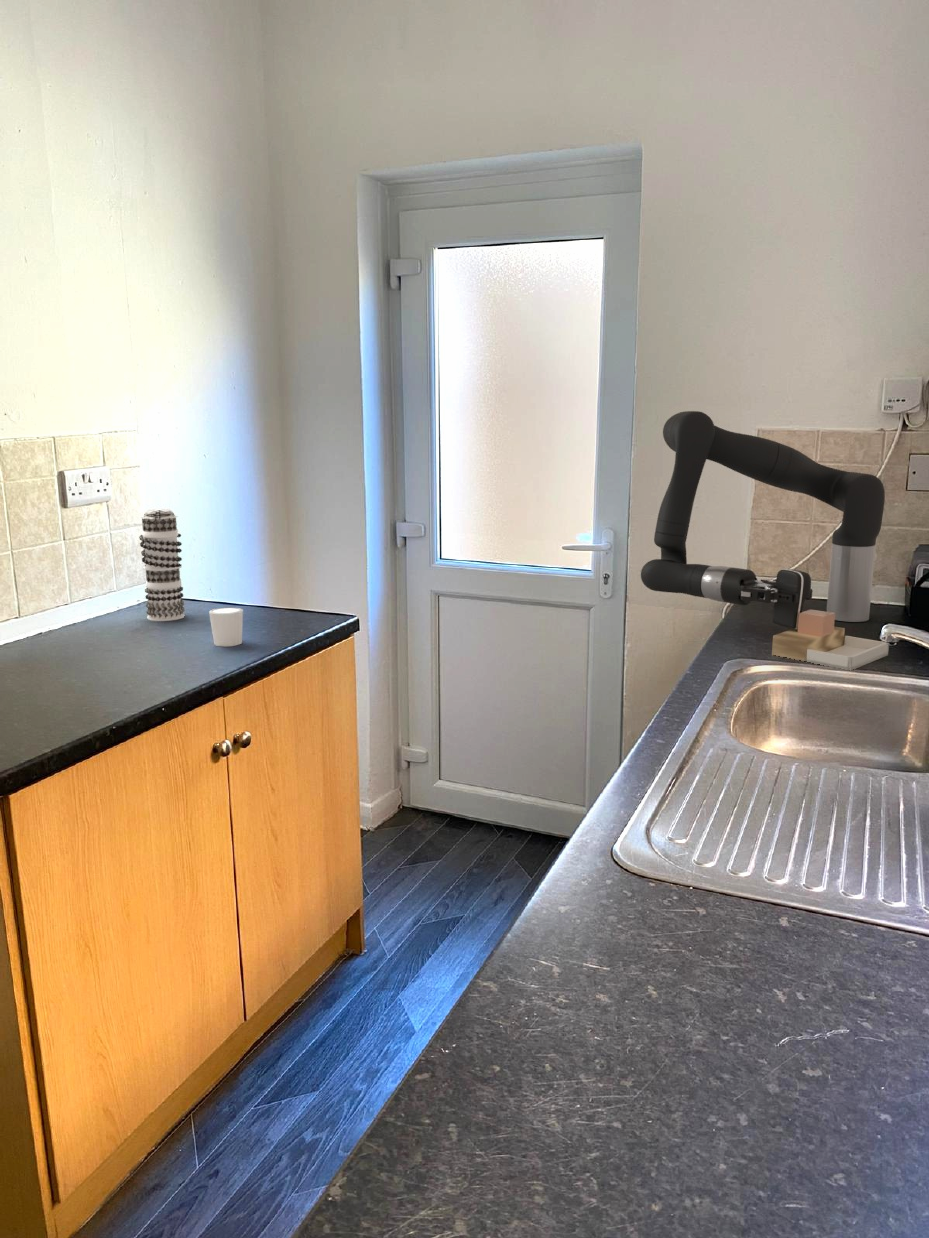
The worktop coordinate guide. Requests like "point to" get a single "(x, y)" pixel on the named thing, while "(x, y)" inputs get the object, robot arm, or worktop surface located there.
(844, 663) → the tray
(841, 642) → the wooden block
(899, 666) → the worktop surface
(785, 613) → the black rounded block
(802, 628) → the peach rounded cube
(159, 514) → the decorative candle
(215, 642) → the shot glass
